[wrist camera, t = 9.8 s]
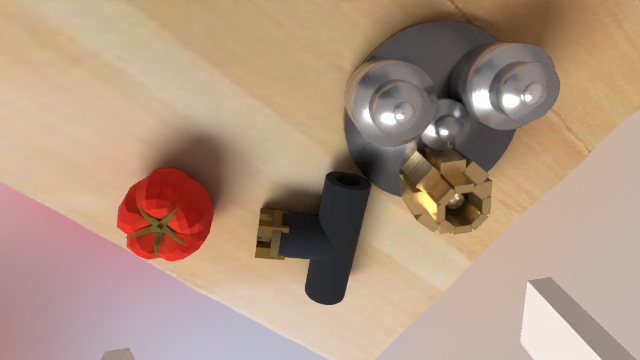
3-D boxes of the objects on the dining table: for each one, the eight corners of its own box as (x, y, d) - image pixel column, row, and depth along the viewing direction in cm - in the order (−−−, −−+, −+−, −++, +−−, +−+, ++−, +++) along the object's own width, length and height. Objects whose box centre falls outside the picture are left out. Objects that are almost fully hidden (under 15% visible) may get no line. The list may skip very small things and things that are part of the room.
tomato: (216, 236, 43) (202, 276, 36) (137, 229, 41) (108, 269, 35) (220, 163, 39) (206, 192, 32) (134, 153, 38) (100, 181, 31)
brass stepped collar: (397, 151, 39) (421, 177, 32) (469, 140, 39) (508, 164, 32) (400, 214, 42) (422, 251, 35) (467, 204, 42) (501, 238, 35)
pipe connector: (249, 301, 41) (264, 180, 35) (253, 271, 45) (266, 161, 40) (347, 307, 42) (376, 193, 37) (340, 278, 47) (365, 173, 42)
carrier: (333, 35, 35) (348, 38, 26) (523, 8, 35) (598, 2, 27) (352, 206, 43) (368, 251, 34) (507, 181, 43) (562, 220, 34)
